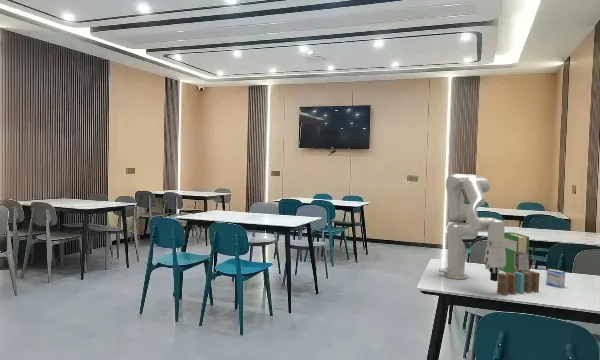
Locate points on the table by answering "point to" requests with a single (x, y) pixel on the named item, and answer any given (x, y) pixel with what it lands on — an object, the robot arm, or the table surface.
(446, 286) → the table surface
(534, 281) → the domino
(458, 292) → the table surface
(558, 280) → the medicine box
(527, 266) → the coffee box
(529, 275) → the domino
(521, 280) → the gap domino
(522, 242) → the hardback book
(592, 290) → the table surface
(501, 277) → the domino
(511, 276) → the domino
